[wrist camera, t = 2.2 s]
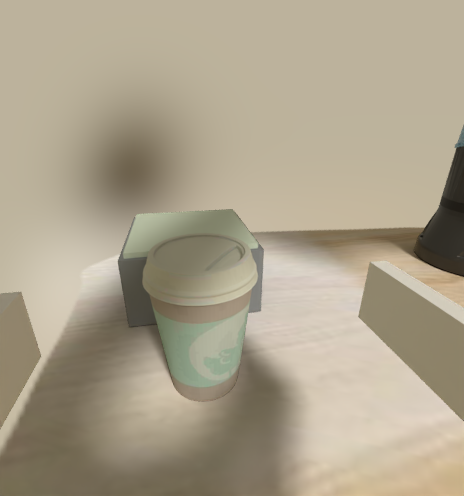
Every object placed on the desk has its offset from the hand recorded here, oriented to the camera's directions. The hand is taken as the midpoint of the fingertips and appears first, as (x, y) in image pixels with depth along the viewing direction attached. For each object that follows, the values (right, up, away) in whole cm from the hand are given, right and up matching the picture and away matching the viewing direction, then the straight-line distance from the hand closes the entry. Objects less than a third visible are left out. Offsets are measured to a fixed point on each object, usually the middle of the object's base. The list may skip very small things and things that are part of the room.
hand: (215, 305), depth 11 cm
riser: (-5, -3, +28) cm, 29 cm away
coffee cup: (-2, -9, +15) cm, 17 cm away
